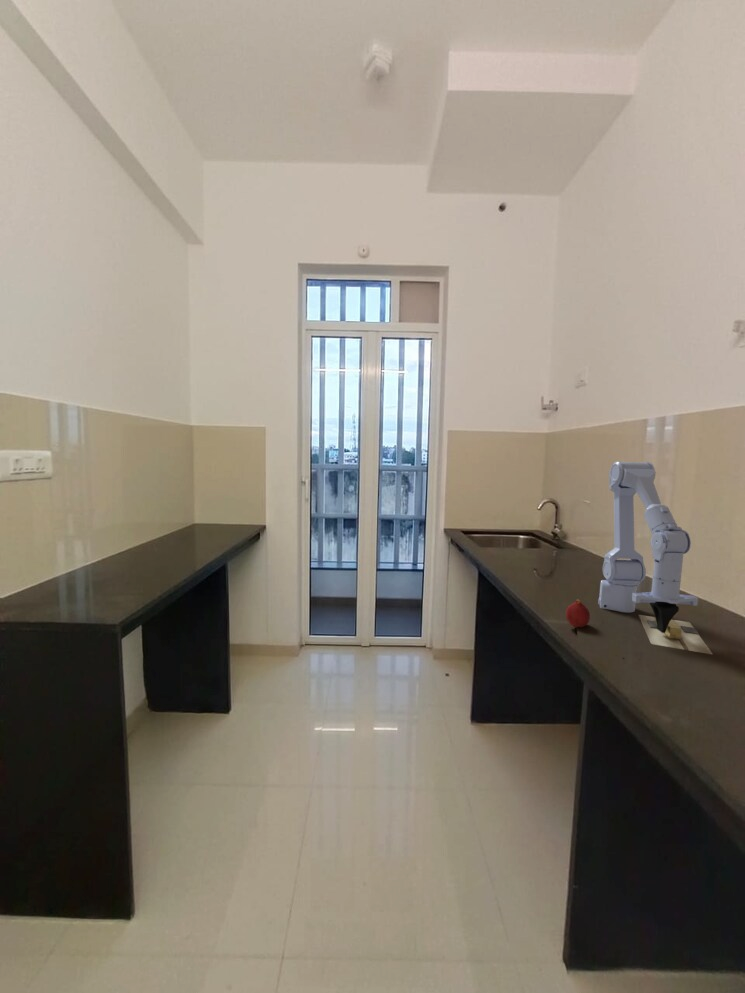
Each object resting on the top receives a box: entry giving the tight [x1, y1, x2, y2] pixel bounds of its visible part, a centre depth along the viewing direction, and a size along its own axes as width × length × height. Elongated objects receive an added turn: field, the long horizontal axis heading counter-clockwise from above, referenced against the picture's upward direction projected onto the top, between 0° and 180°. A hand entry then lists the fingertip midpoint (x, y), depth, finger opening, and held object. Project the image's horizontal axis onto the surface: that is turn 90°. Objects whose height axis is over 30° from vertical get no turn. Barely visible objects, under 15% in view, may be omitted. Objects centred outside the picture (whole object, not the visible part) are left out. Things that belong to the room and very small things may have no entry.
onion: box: [565, 599, 591, 629], centre depth 114 cm, size 6×6×8 cm
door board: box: [638, 614, 714, 656], centre depth 111 cm, size 12×21×2 cm, turn 156°
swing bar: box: [655, 618, 681, 639], centre depth 111 cm, size 10×2×3 cm, turn 167°
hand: (661, 631), depth 109 cm, fingers closed
